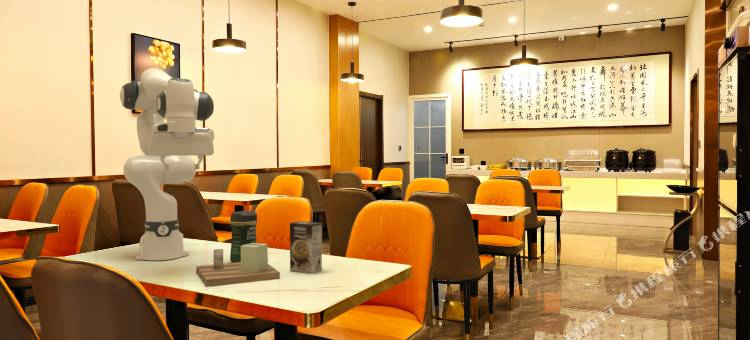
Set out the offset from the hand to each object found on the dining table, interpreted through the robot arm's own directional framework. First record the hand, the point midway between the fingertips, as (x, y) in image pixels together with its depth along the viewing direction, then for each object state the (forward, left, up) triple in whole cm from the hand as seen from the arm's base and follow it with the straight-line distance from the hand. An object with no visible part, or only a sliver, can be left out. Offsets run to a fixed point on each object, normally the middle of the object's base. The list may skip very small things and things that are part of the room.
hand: (181, 169), depth 171 cm
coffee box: (+16, +37, -34) cm, 53 cm away
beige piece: (+15, +20, -32) cm, 41 cm away
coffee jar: (-9, +22, -34) cm, 42 cm away
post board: (+12, +15, -34) cm, 39 cm away
